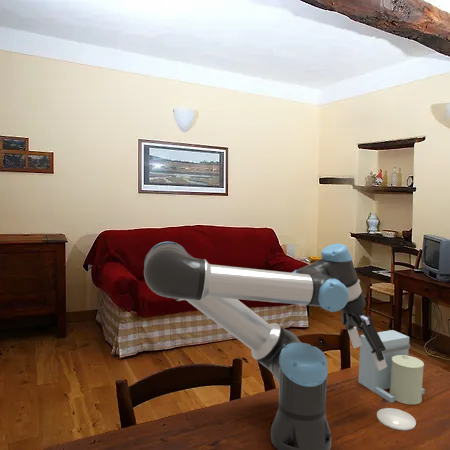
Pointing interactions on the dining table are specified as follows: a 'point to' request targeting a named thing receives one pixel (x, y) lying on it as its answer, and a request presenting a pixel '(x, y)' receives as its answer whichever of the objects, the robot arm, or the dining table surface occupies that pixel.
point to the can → (406, 379)
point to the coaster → (396, 419)
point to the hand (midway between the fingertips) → (369, 356)
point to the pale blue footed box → (394, 346)
